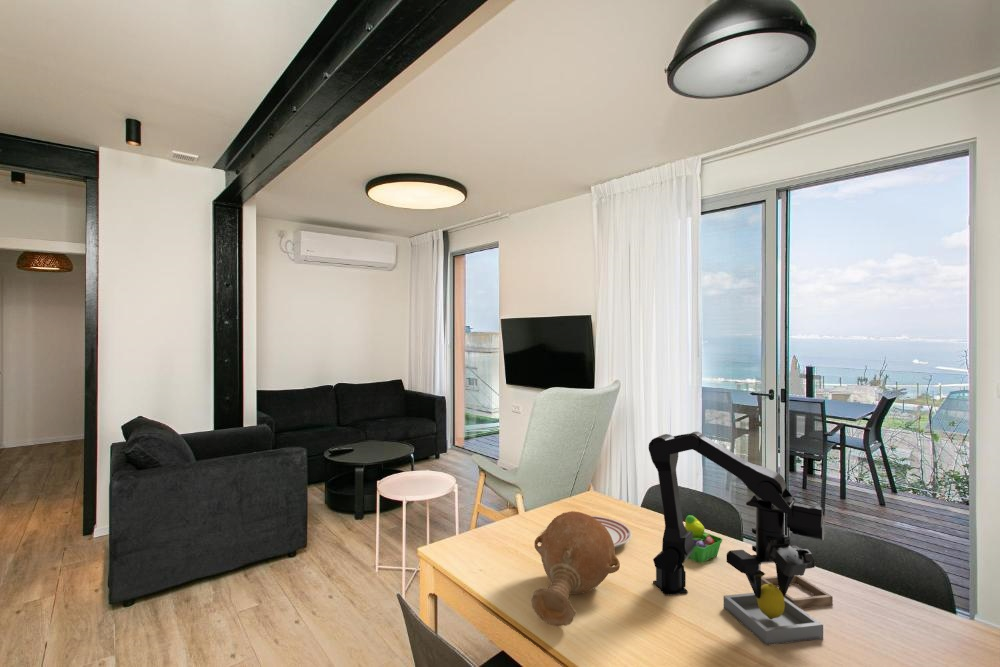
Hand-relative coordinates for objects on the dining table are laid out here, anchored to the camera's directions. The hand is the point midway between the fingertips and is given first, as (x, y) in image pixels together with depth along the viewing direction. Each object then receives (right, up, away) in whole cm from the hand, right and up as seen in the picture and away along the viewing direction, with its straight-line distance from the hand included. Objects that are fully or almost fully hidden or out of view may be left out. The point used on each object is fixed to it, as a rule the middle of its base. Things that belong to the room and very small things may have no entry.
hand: (770, 596), depth 106 cm
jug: (-45, -6, +10) cm, 47 cm away
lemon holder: (+13, -6, +12) cm, 19 cm away
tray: (0, -6, 0) cm, 6 cm away
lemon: (0, -5, 0) cm, 5 cm away
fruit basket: (-2, -7, +34) cm, 34 cm away
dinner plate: (-33, -7, +45) cm, 57 cm away
